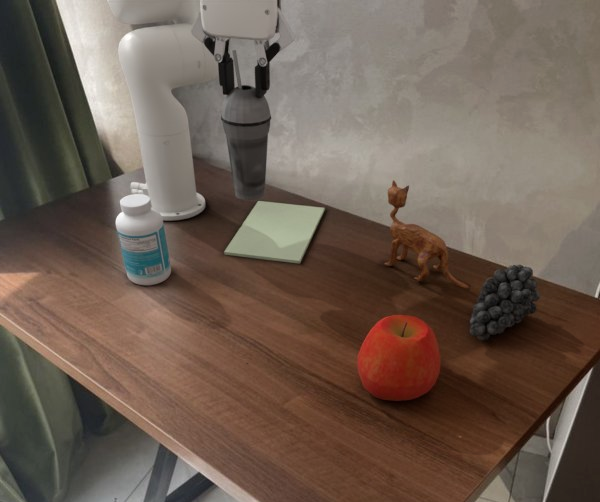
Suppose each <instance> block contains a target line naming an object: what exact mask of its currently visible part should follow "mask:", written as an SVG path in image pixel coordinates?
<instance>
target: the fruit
mask: <svg viewBox="0 0 600 502" xmlns="http://www.w3.org/2000/svg"><path fill="white" fill-rule="evenodd" d="M533 275H534V270H533V269H532V268H531V267H530V266H524V265H522V264H512V265H509V266H508V267H507V268H506V269H504V268H498V269H497V270H495V271H494V273H493V277H488V278H487V279H485V282H484V283H483V284H482V286H481V290H480V292H479V293H478V297H477V300H476V302H477V303H475V304H474V305H473V307H472V313H471V318H469V333H470V334H471V336H473V337H476V338H477V339H478V340H480V341H487V340H489V338H490V337H491V335H492V336H494V335H495V336H496V335H497V334H499V335H500V334H503V333H504V332H505V330H506V328H512V327H514V325H515V324H520V323H521V322H522V321H523V319H524V318H525V316H529V315H533V314H535V313H536V311H537V310H538V309H537V305H536V304H535V302H538V300H539V299H540V297H541V293H540V292H539V291H538V290H537V287H538V281H537V280H536V279H535V278H533Z"/></svg>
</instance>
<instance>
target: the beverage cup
mask: <svg viewBox="0 0 600 502" xmlns="http://www.w3.org/2000/svg"><path fill="white" fill-rule="evenodd" d="M232 56H233V57H232V59H233V64H234V72H235V76H236V83H237V86H235V88H234V89H232V90H231V91H230V93H229V94H228V95H225V97H224V100H223V102H222V105H221V114H220V121H222V127H223V131H224V134H225V138H226V145H227V151H228V158H229V163H230V164H229V165H230V170H231V177H232V184H233V188H234V193H235V197H236V198H237V199H239V200H242V201H247V202H248V201H257V200H259V199H262V198H263V197H264V196H265V188H266V187H265V186H266V178H267V158H268V157H267V156H268V142H269V133H270V128H271V120H272V114H271V110H270V105H269V102H268V99H267V98H266V96H265V95H264V96H263V97H262V98H257V97H256V93H255V86H252V85H247V84H242V81H241V80H242V79H241V73H240V66H239V61H238V54H237V50H236V49H233V50H232Z"/></svg>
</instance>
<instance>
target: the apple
mask: <svg viewBox="0 0 600 502" xmlns="http://www.w3.org/2000/svg"><path fill="white" fill-rule="evenodd" d="M440 353H441V352H440V348H439V343H438V339H437V336H436V335H435V332H434V330H433V328H432V327H431V326H429V324H428V323H426V321H424V320H423V319H420V318H418V317H416V316H415V315H414V316H413V315H407V314H405V315H404V314H392V315H389V316H385V317H383V318H381V319H380V320H378V321H377V323H375V325H373V327H372V328H371V329H370V330H369V332H368V333H367V335H366V337H365V339H364V340H363V342H362V343H361V346H360V348H359V352H358V354H357V374H358V376H359V380H360V381H361V385H362V387H363V388H364V390H366V391H367V392H368V393H369V394H370V395H371V396H373V397H374V398H377V399H380V400H383V401H392V402H399V401H410V400H414V399H417V398H420V397H422V396H423V395H425V394H427V393H429V392H430V390H431V389H432V388H433V387H434V386H435V384H436V383H437V380H438V378H439V376H440V370H441V363H442V361H441V354H440Z"/></svg>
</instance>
